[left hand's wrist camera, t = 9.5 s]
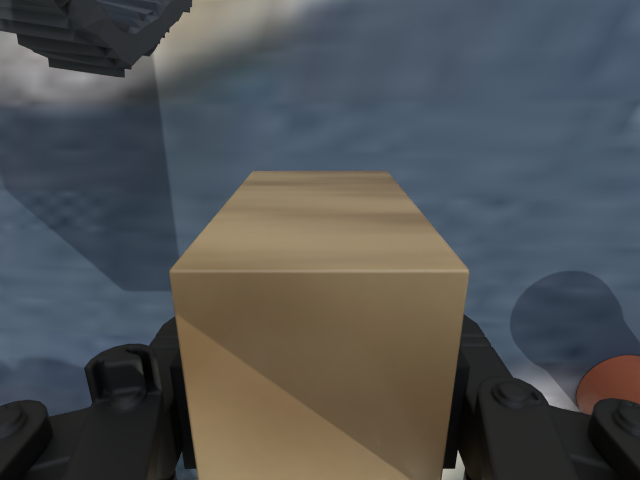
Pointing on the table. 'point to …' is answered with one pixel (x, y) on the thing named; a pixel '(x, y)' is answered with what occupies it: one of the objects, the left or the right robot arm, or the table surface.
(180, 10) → the toy
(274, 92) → the table surface
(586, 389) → the terracotta cylinder
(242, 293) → the pale wooden bar
